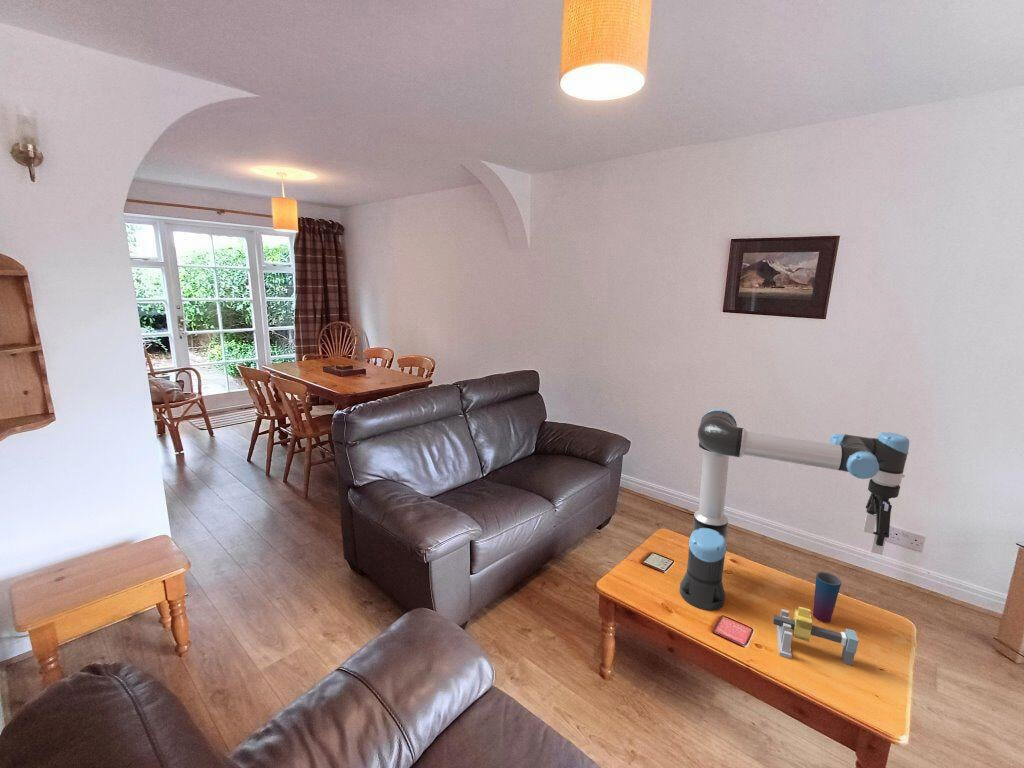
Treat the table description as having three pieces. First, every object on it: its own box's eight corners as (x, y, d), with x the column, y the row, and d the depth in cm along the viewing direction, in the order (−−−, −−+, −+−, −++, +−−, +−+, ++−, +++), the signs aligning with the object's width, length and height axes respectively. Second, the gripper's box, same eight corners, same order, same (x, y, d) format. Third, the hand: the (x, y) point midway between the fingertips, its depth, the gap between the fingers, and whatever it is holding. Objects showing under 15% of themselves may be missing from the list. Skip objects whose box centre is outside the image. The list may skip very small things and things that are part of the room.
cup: (826, 627, 149) (834, 587, 146) (805, 614, 155) (812, 575, 151) (838, 620, 152) (845, 581, 149) (817, 607, 158) (823, 569, 155)
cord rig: (771, 653, 139) (775, 627, 137) (769, 624, 150) (773, 600, 148) (856, 679, 130) (861, 651, 128) (846, 646, 141) (851, 621, 139)
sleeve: (793, 637, 139) (797, 612, 137) (791, 626, 143) (796, 601, 141) (809, 641, 137) (813, 616, 135) (806, 630, 142) (811, 605, 140)
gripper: (911, 501, 131) (896, 566, 136) (890, 470, 152) (878, 527, 157) (878, 495, 134) (864, 559, 139) (863, 465, 156) (851, 521, 161)
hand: (872, 542), depth 148 cm, fingers open, 13 cm apart
